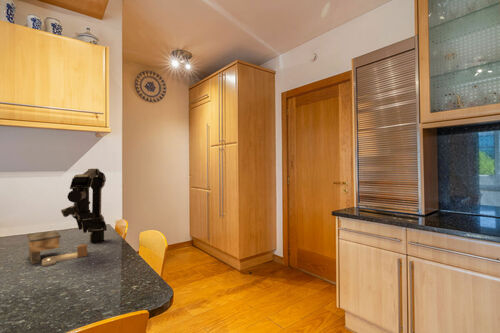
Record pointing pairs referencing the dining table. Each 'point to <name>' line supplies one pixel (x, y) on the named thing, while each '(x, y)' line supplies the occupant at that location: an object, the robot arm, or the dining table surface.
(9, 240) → the dining table surface
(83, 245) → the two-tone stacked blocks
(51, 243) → the cabinet
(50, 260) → the token
